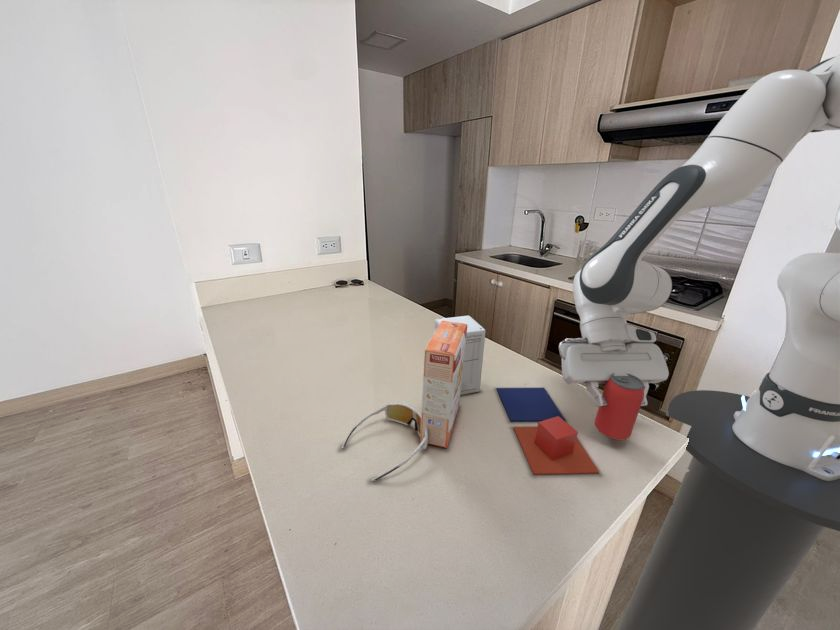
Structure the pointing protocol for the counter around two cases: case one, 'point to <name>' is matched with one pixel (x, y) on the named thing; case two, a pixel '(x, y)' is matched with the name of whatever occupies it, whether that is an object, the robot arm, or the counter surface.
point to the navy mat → (528, 404)
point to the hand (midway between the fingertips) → (622, 406)
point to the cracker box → (442, 381)
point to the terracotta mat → (563, 465)
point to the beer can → (620, 406)
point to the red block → (555, 437)
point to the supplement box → (470, 353)
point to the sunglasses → (401, 415)
